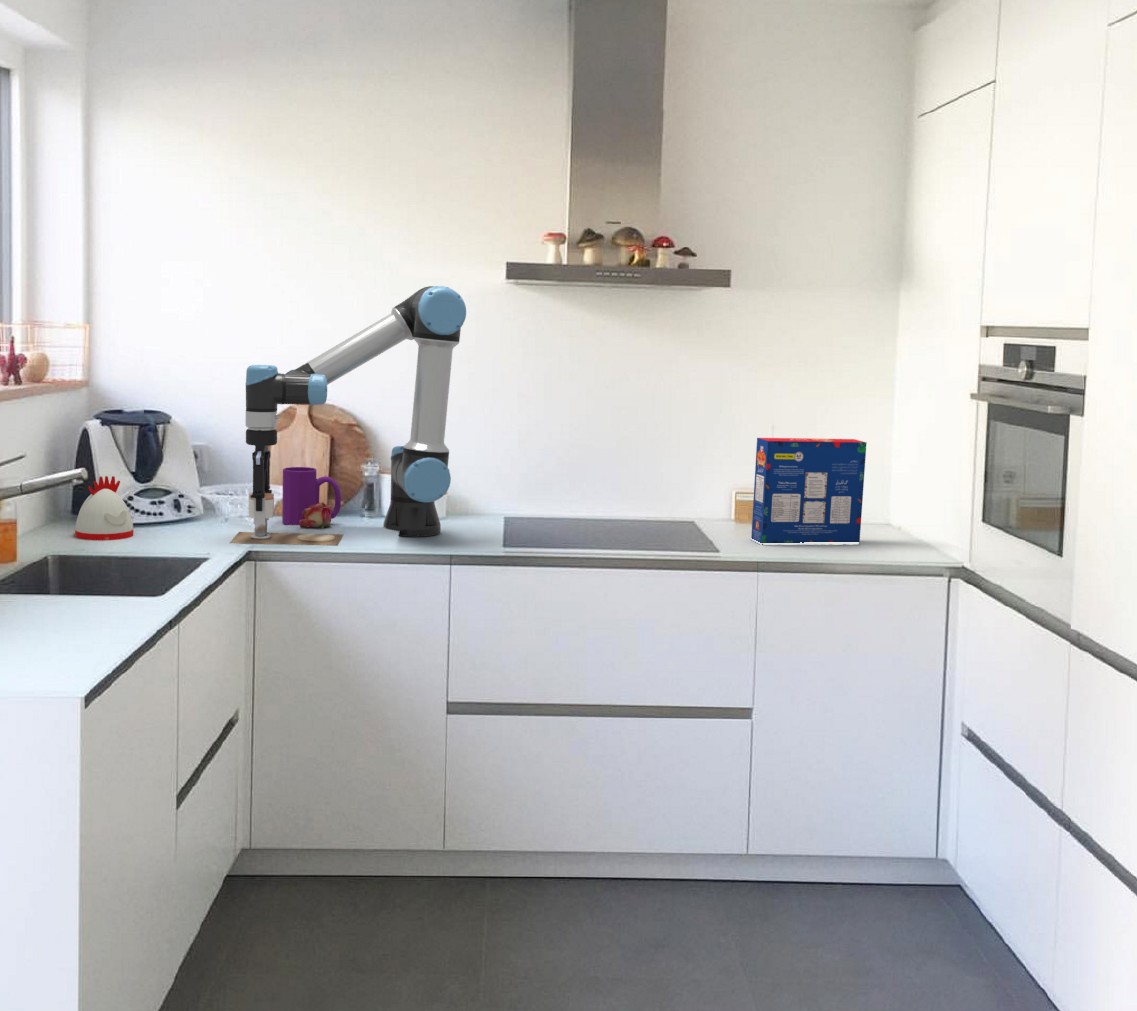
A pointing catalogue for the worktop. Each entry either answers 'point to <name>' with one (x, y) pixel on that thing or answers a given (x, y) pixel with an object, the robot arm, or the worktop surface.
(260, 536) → the post
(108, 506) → the kitchen timer
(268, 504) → the cap
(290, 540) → the board
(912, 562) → the worktop surface
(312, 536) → the coaster
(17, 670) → the worktop surface
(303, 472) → the mug
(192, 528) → the worktop surface
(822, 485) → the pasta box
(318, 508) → the flower
